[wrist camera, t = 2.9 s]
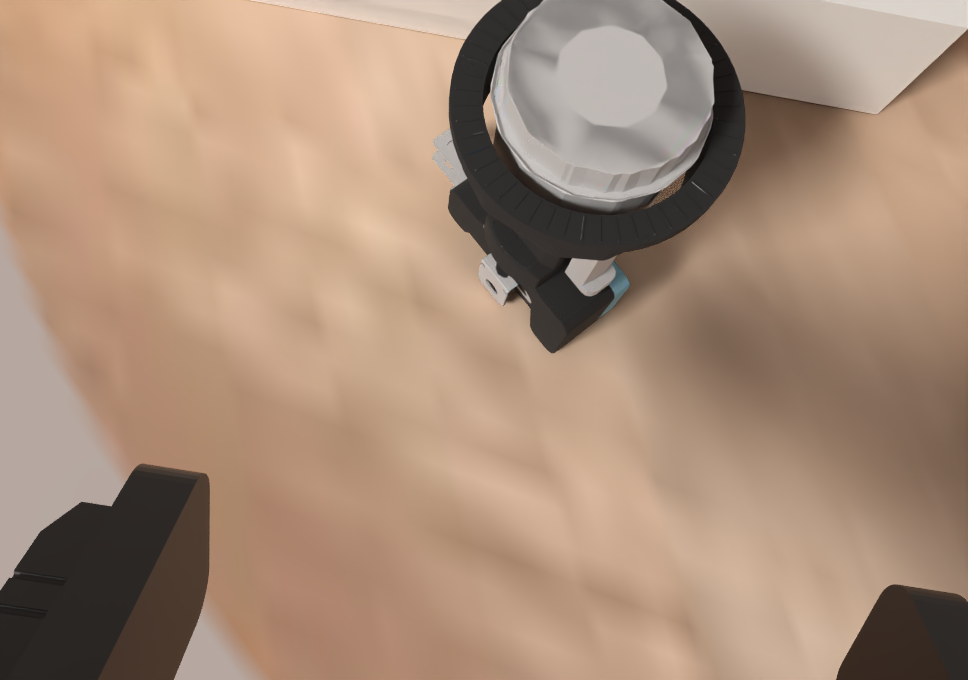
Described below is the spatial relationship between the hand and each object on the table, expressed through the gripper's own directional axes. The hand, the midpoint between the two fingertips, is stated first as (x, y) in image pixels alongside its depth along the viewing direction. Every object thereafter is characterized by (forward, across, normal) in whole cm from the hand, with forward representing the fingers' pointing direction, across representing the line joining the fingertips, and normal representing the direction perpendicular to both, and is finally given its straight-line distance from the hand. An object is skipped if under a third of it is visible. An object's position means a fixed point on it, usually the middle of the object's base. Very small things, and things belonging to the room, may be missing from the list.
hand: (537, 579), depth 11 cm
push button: (+15, 0, +3) cm, 15 cm away
